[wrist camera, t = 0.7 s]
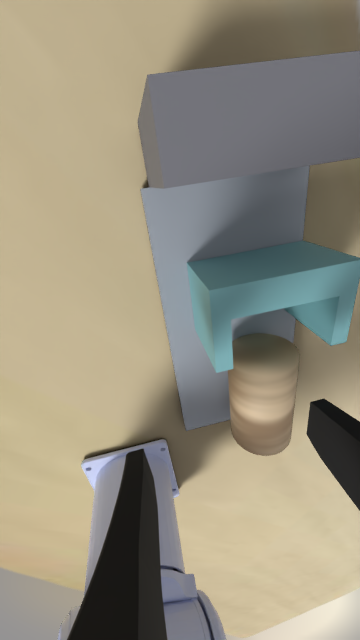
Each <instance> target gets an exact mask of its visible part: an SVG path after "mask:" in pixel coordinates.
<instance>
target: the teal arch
mask: <svg viewBox="0 0 360 640" xmlns="http://www.w3.org/2000/svg"><path fill="white" fill-rule="evenodd" d="M187 269H188V277H189V285H190V293H191V301H192V309H193V317H194V325H195V330H196V332H197V334H198V336H199V338H200V341H201V343H202V345H203V347H204V349H205V351H206V353H207V355H208V357H209V359H210V361H211V363H212V365H213V367H214V369H215V371H216V373H218V372H222V371H227V370H231V369H233V350H232V328H231V320H232V319H236V318H241V317H246V316H250V315H255V314H259V313H264V312H269V311H273V310H278V309H282V308H285V311H287V312H288V313H289V314H291V315H292V316H293V317H294V318H296V319H297V320H298V321H300V322H301V323H302V324H303V325H305V326H306V327H307V328H309V329H310V330H311V331H312V332H314V333H315V334H316V335H318V336H319V337H320V338H321V339H323V340H324V341H325V342H327V343H328V344H329V345H330V346H332V345H336V344H340V343H344V342H346V341H347V336H348V331H349V327H350V322H351V317H352V312H353V308H354V303H355V298H356V293H357V289H358V284H359V279H360V258H358V257H355V256H352V255H349V254H345V253H342V252H339V251H336V250H332V249H329V248H326V247H323V246H319V245H316V244H313V243H310V242H306V241H298V242H293V243H287V244H282V245H277V246H272V247H266V248H261V249H256V250H251V251H245V252H240V253H235V254H230V255H224V256H219V257H214V258H209V259H203V260H198V261H193V262H188V263H187Z"/></svg>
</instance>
